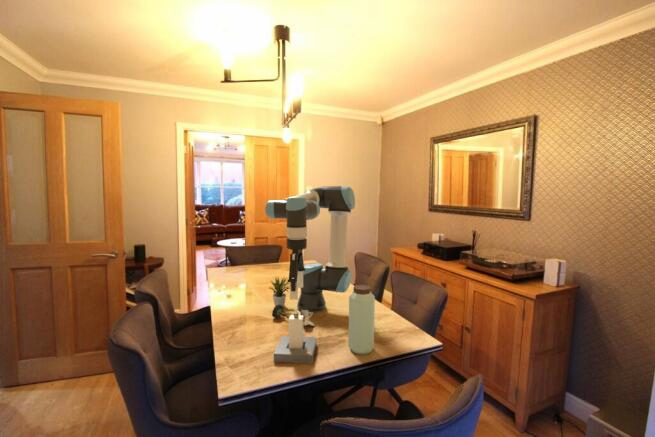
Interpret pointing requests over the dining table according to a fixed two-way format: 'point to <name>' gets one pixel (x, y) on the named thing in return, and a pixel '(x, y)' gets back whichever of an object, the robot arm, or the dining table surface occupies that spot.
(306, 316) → the artificial flower
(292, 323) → the cream long rectangular block
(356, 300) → the water bottle
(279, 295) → the house plant
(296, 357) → the socket
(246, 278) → the dining table surface
